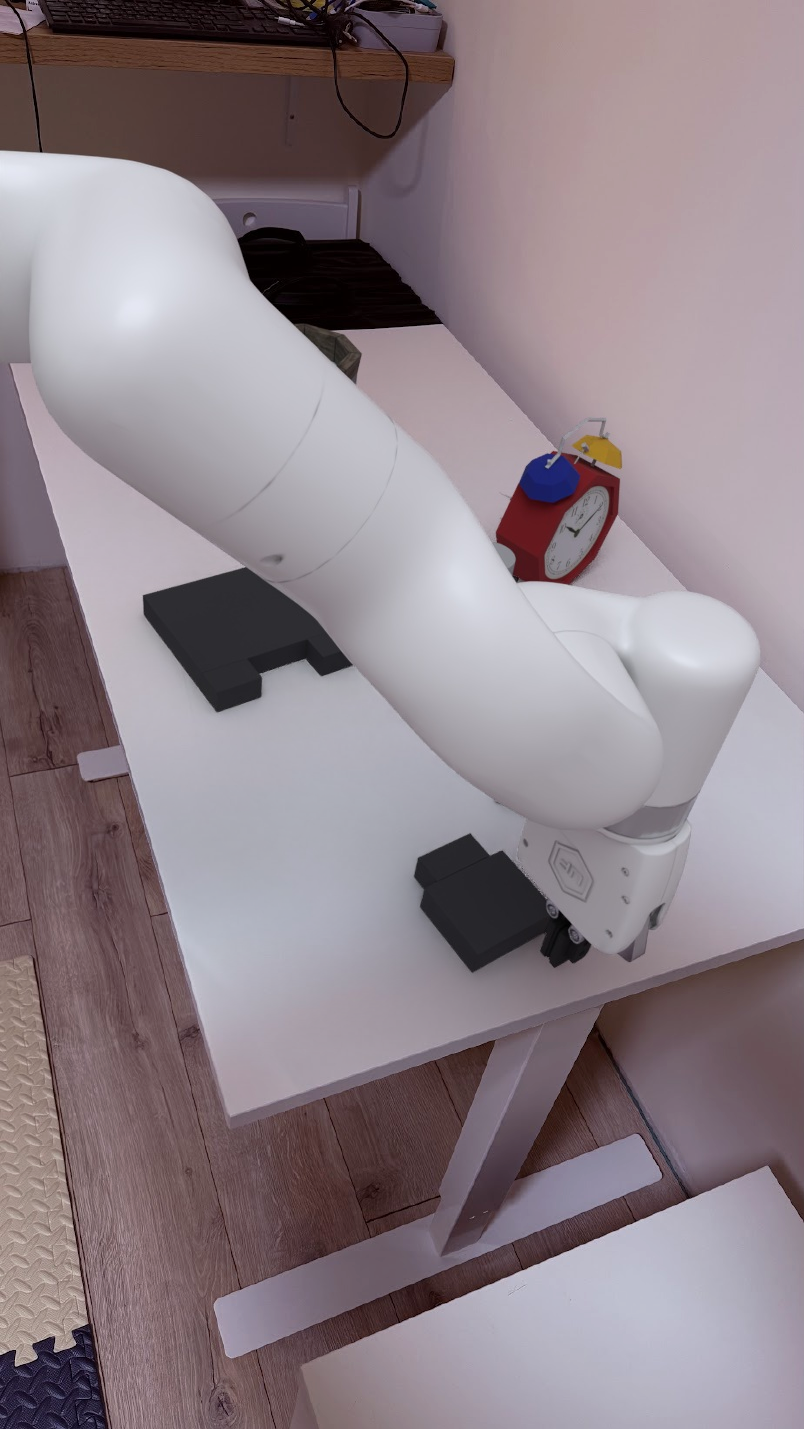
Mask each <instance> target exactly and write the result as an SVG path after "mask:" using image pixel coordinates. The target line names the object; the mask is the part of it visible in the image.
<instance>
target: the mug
mask: <svg viewBox="0 0 804 1429" xmlns="http://www.w3.org/2000/svg"><path fill="white" fill-rule="evenodd" d="M292 324H293V325H294V326H295V327H296V328H297V329H298V330H299V331H300V332H301V333H302V334H304V335H305V336H306V337H307V338H308V339H309V340H310V341H311V342H312V343H313V344H314V345H315V346H316V347H317V348H318V349H319V350H320V351H321V352H322V353H323V354H324V355H325V356H326V357H327V358H328V359H329V360H330V361H331V362H332V363H333V364H334V365H335V366H337V367H338V368H339V369H340V370H341V371H342V372H343V373H344V374H345V375H346V376H347V377H348V378H349V379H350V380H351V381H352V382H353V383H354V384H356V385H357V383H358V382H357V381H358V372H359V368H360V363H361V359H362V356H363V353H362V352H361V351H360V350H359V349H358V348H357V347H356V346H355V344H354V343H353V342H352V341H351V340H350V339H349V338H348V336H346V335H345V334H344V333H340V332H337V331H333V330H329V329H325V328H322V327H318V326H315V325H311V324H308V323H292Z"/></svg>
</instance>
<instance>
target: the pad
mask: <svg viewBox="0 0 804 1429" xmlns="http://www.w3.org/2000/svg"><path fill="white" fill-rule="evenodd" d="M413 878H414V879H415V880H416V881H417V883H418V884H419V885H420V887H421V888H422V890H423V892H422V896H421V901H420V905H419V908H420V909H421V910H422V911H423V913H424V914H425V915H426V917H427V918H428V919H429V920H430V922H431V923H432V924H433V926H434V927H435V928H436V929H437V931H438V932H439V933H440V935H441V936H442V937H443V938H444V939H445V940H446V942H447V943H448V944H449V946H450V947H451V948H452V950H453V951H454V952H455V953H456V954H457V956H458V957H459V958H460V959H461V961H462V962H463V963H464V964H465V966H466V967H467V968H468V970H469V971H470V972H471V973H475V972H476V971H478V970H480V969H482V968H484V967H485V966H487V965H489V964H491V963H492V962H494V961H496V960H498V959H499V958H501V957H503V956H505V955H507V954H508V953H510V952H512V951H514V950H515V949H518V948H520V947H521V946H523V945H525V944H526V943H528V942H530V941H532V940H534V939H535V938H537V937H539V936H541V935H543V934H545V929H546V926H547V924H548V921H549V918H550V915H549V914H548V912H547V909H546V903H547V898H546V897H545V895H543V894H542V892H541V891H540V890H539V889H538V888H537V887H536V886H535V884H533V882H532V881H531V880H530V879H529V878H528V876H527V875H525V873H524V872H523V871H522V870H521V868H519V866H517V864H516V863H515V862H514V861H513V860H512V858H510V856H509V855H508V854H507V853H506V852H505V851H504V850H503V849H501V850H499V851H496V852H494V853H493V854H490V853H489V852H488V851H487V850H486V849H485V848H484V847H483V846H482V845H481V843H480V842H479V841H478V840H477V839H476V837H475V836H474V835H473V834H472V833H471V832H469V833H467V834H465V835H463V836H461V837H459V838H457V839H456V838H455V839H454V840H453V841H450V842H448V843H445V844H444V845H442V846H440V847H437V848H435V849H434V850H431V851H428V852H426V853H424V854H423V855H421V856H418V857H417V858H416V864H415V869H414V873H413Z"/></svg>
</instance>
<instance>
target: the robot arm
mask: <svg viewBox="0 0 804 1429" xmlns="http://www.w3.org/2000/svg"><path fill="white" fill-rule="evenodd" d="M248 272H249V271H248V269H247V266H246V263H245V260H244V257H243V253H242V250H241V247H240V244H239V242H238V239H237V236H236V234H235V232H234V230H233V228H232V226H231V224H230V223H229V220H228V218H227V217H226V215H225V214H224V213H223V211H222V210H221V209H220V208H219V207H218V205H217V204H216V203H215V201H214V200H213V199H212V198H211V197H210V196H209V195H207V194H206V193H205V192H204V191H202V190H201V189H200V188H199V187H198V186H196V184H194V183H193V182H191V181H190V180H188V179H186V178H185V177H182V176H180V175H179V174H176V173H174V172H172V171H170V170H168V169H165V168H161V167H158V166H154V165H150V164H147V163H144V162H139V161H134V160H131V159H130V160H129V159H122V158H115V157H114V158H113V157H105V156H91V155H82V154H81V155H80V154H69V153H68V154H67V153H50V152H33V151H17V150H16V151H15V150H0V364H30V366H31V372H32V375H33V379H34V383H35V386H36V388H37V391H38V393H39V396H40V398H41V400H42V402H43V404H44V406H45V408H46V410H47V413H48V414H49V416H50V417H51V419H53V421H54V422H55V423H56V425H57V427H58V428H59V429H60V431H61V432H62V433H63V434H64V435H65V436H66V437H67V438H68V439H69V440H70V441H71V442H72V443H73V444H74V445H75V446H77V448H79V449H80V451H82V452H83V453H84V454H85V455H87V456H88V457H89V458H90V459H92V460H93V461H94V462H95V463H97V464H98V465H100V467H103V468H104V469H106V470H107V471H108V472H109V473H111V474H112V475H113V476H115V477H116V478H117V479H119V480H121V481H122V482H123V483H125V484H127V485H128V486H129V487H131V488H132V489H134V490H135V491H137V492H138V493H139V494H141V495H142V496H144V498H146V499H147V500H149V501H151V502H152V503H154V504H155V505H156V506H158V507H159V508H160V509H162V510H163V511H165V512H166V513H167V514H169V515H171V516H172V517H173V518H174V519H176V520H177V521H179V522H180V523H182V524H183V525H185V526H186V527H189V528H190V529H191V530H192V531H193V532H195V533H197V534H198V535H199V536H201V537H203V538H204V539H205V540H207V541H208V542H209V543H211V544H212V545H214V546H215V547H217V549H219V550H220V551H222V552H224V553H225V554H226V555H228V556H229V557H231V558H232V559H234V560H235V561H237V562H238V563H239V564H241V565H242V566H243V567H247V568H248V569H249V570H251V571H252V572H254V573H255V574H257V575H258V576H259V577H260V578H262V579H263V580H265V581H266V582H268V583H269V584H270V585H272V586H273V587H275V588H276V589H278V590H279V591H281V592H282V593H283V594H285V595H286V596H287V597H289V598H290V599H292V600H293V601H294V602H296V603H297V604H299V605H300V606H301V607H302V608H303V609H305V610H306V611H307V612H308V613H309V614H311V615H312V616H313V617H314V618H315V619H316V620H317V621H318V622H319V623H320V625H321V626H322V627H323V628H324V630H325V631H326V632H327V634H328V635H329V636H330V637H331V639H332V640H333V641H334V642H335V644H336V645H337V646H338V648H339V649H340V650H341V651H342V652H343V654H344V655H345V656H346V657H347V659H348V660H349V661H350V662H351V663H352V664H353V665H352V666H354V668H355V669H356V670H357V671H358V673H360V674H361V675H362V676H363V677H364V679H366V680H367V682H368V683H369V684H370V685H371V686H372V687H373V688H374V690H376V691H377V692H378V693H379V695H380V696H381V697H382V698H383V699H384V700H385V701H386V702H387V703H388V704H389V706H390V707H391V708H392V709H393V710H394V711H395V713H397V715H398V716H399V717H400V718H401V719H402V720H403V721H404V722H405V723H406V725H408V727H409V728H410V729H411V730H412V731H413V732H414V733H415V734H416V735H417V737H418V738H419V739H420V740H421V741H422V742H423V743H424V744H425V745H426V746H427V747H428V748H429V749H430V751H431V752H433V753H434V754H435V756H437V757H438V758H439V759H441V761H442V762H443V763H444V764H445V765H446V766H447V767H449V768H450V769H451V770H452V771H454V773H456V774H457V775H458V776H459V777H461V778H462V779H463V780H464V781H466V782H467V783H469V785H471V786H472V787H474V788H476V789H477V790H479V791H480V792H482V793H483V794H485V795H486V796H487V797H490V798H491V799H492V800H494V801H496V802H497V803H498V804H501V805H502V806H504V807H505V808H507V809H509V810H510V811H512V812H513V813H515V814H517V815H518V816H521V817H523V818H525V819H526V820H525V823H524V825H523V828H522V832H521V833H520V836H519V839H518V842H517V843H518V844H517V858H518V860H519V862H520V864H521V866H522V868H523V869H524V871H525V872H526V873H527V875H528V876H529V877H530V878H531V880H532V881H533V882H534V883H535V884H536V886H537V887H538V888H539V889H540V890H541V891H542V892H543V893H544V894H545V896H546V897H547V898H546V899H547V903H546V909H547V912H548V914H549V915H550V918H549V921H548V924H547V926H546V929H545V932H544V934H545V935H544V938H543V940H542V943H541V945H540V949H539V953H540V954H541V955H542V956H543V957H544V958H548V960H549V961H548V963H549V964H550V965H551V967H552V968H553V969H556V968H559V967H560V966H562V965H563V964H565V963H567V962H570V963H571V964H572V965H573V964H576V963H577V962H579V961H581V960H582V959H583V958H585V957H586V956H587V955H588V953H589V951H590V950H591V947H592V946H593V947H594V948H595V949H596V950H598V951H599V952H601V953H603V954H606V955H608V956H614V955H616V954H617V955H618V956H619V957H620V958H622V959H623V960H624V961H626V962H628V963H632V962H634V961H635V960H636V959H638V958H640V957H641V956H643V955H645V954H646V950H647V949H646V948H647V942H648V937H649V936H648V935H649V931H656V930H657V929H658V928H659V927H660V926H661V924H662V923H663V921H664V920H665V918H666V916H667V913H668V911H669V909H670V907H671V905H672V902H673V900H674V898H675V895H676V893H677V890H678V887H679V885H680V882H681V878H682V876H683V872H684V869H685V866H686V863H687V858H688V853H689V849H690V844H691V836H692V830H693V828H692V827H693V826H692V824H691V823H690V821H689V819H688V818H689V815H690V813H691V811H692V809H693V807H694V805H695V803H696V801H697V798H698V796H700V795H699V794H700V793H701V791H702V789H703V786H704V785H705V782H706V780H707V778H708V776H709V774H710V771H711V770H712V768H713V766H714V764H715V763H716V760H717V758H718V755H719V754H720V751H721V750H722V748H723V746H724V743H725V741H726V739H727V738H728V735H729V733H730V731H731V729H732V727H733V725H734V722H735V721H736V719H737V716H738V715H739V713H740V711H741V708H742V706H743V704H744V703H745V700H746V698H747V696H748V694H749V692H750V690H751V688H752V685H753V684H754V681H755V679H756V676H757V674H758V672H759V668H760V665H761V658H762V657H761V656H762V654H761V653H762V652H761V651H762V649H761V644H760V641H759V637H758V634H757V633H756V631H755V629H754V628H753V626H752V625H751V623H750V622H749V621H748V620H747V619H746V618H745V617H744V616H743V615H741V613H739V611H737V610H736V609H734V608H733V607H732V606H730V605H729V604H727V603H725V602H723V601H721V600H719V599H717V598H714V597H712V596H709V595H706V594H704V593H700V592H695V591H688V590H677V589H675V590H663V591H658V592H654V593H651V594H649V595H645V596H637V595H629V594H623V593H615V592H610V591H605V590H597V589H593V588H588V587H582V586H577V585H571V584H569V585H566V584H560V583H553V582H539V581H529V582H520V583H517V581H516V579H515V578H514V577H513V574H512V575H511V574H510V572H509V571H508V569H507V567H506V566H505V564H504V562H503V561H502V559H501V557H500V556H499V554H498V552H497V551H496V549H495V547H494V545H493V544H492V542H493V541H492V540H491V538H490V537H489V535H488V533H487V531H486V530H485V528H484V526H483V525H482V523H481V521H480V519H479V518H478V516H477V515H476V514H475V512H474V510H473V508H472V507H471V506H470V504H469V502H468V501H467V500H466V498H465V497H464V496H463V494H462V492H461V491H460V490H459V489H458V488H457V486H456V484H455V483H454V481H453V480H452V479H451V478H450V476H449V475H448V474H447V472H446V471H445V470H444V469H443V467H442V466H441V464H439V462H438V461H437V460H436V459H435V458H434V457H433V455H431V454H430V453H429V452H428V451H427V449H425V448H424V446H422V445H421V444H420V443H419V442H418V441H417V440H415V439H414V438H413V437H412V436H411V435H410V434H409V433H407V432H406V430H404V429H403V428H402V427H401V426H400V425H399V424H398V423H397V422H396V421H394V419H393V417H390V415H388V414H387V413H386V412H385V411H384V410H383V409H382V408H381V407H380V406H379V405H378V404H377V403H376V402H375V401H374V400H373V399H372V398H370V396H369V395H367V394H366V392H364V391H363V390H362V389H361V388H360V387H359V386H358V385H357V383H356V384H354V383H353V382H352V381H351V380H350V379H349V378H348V377H347V376H346V375H345V374H344V373H343V372H342V371H341V370H340V369H339V368H338V367H337V366H335V365H334V364H333V363H332V362H331V361H330V360H329V359H328V358H327V357H326V356H325V355H324V354H323V353H322V352H321V351H320V350H319V349H318V348H317V347H316V346H315V345H314V344H313V343H312V342H311V341H310V340H309V339H308V338H307V337H306V336H305V335H304V334H302V333H301V332H300V331H299V330H298V329H297V328H296V327H295V326H294V325H293V324H294V323H292V322H291V321H290V320H289V319H288V318H287V317H286V316H285V315H284V314H283V313H282V312H281V311H279V309H277V307H275V306H274V305H273V303H271V302H270V301H269V300H268V299H267V298H266V296H264V295H263V293H262V292H260V290H259V289H258V288H257V287H256V285H254V283H253V282H252V280H251V279H250V276H249V273H248Z"/></svg>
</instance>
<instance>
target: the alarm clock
mask: <svg viewBox="0 0 804 1429" xmlns="http://www.w3.org/2000/svg"><path fill="white" fill-rule="evenodd" d="M588 422H590V423H591V422H597V423H598V422H599V423H601V425H600V429H599V433H598V435H599V436H597V435H591V434H585V435H584V436H583V437H580V438H579V439H578V440H577V441H576V442H574V443H572V444H571V445H570V447H572V448H574V449H576V450H577V451H578V452H580V453H579V455H578V454H573V453H566V452H562V451H563V447H564V445H565V441H566V439H568V438H569V437H570V436H571V435H573V434H574V433H575V432H576V431H578V430H579V429H580V428H581V427H582V426H584V425H585V424H587V423H588ZM606 423H607V417H586V418H584V419H583V420H582V421H581V422H579V423H578V424H576V426H574V427H573V428H572V429H571V430H569V431H568V432H567V433H566V434H564V435H563V436H562V437H561V439H560V442H559V446H558V449H557V450H552V451H551V452H549V453H548V452H547V453H545V454H542V455H540V456H537V457H536V458H533V459H531V461H529V462H528V463H527V465H525V466H524V469H523V472H522V474H521V477H520V480H519V481H518V483H517V485H516V488H515V490H514V491H513V494H512V496H509V495H507V494H504V493H502V492H500V494H501V495H502V496H504V497H506V498H508V499H509V502H508V504H507V507H506V509H505V511H504V513H503V516H502V517H500V518H499V520H500V521H499V524H498V526H497V529H496V530H495V540H496V541H495V542H496V543H499V544H502V545H504V546H506V547H507V548H509V549H510V550H511V551H512V552H513V553H514V555H515V558H516V560H515V565H514V570H513V574H512V575H514V576H515V577H517V578H518V580H517V581H516V583H520V582H529V581H539V582H553V583H560V584H566V585H571V583H572V582H574V580H575V579H576V578H577V577H578V576H579V575H581V573H582V572H584V570H585V569H587V567H588V566H590V564H591V563H592V562H594V560H595V559H596V558H597V556H598V554H599V552H600V550H601V548H602V546H603V544H604V542H605V541H606V539H607V537H608V534H609V533H610V530H611V528H612V527H613V525H614V523H615V521H616V519H617V517H618V515H619V504H620V490H621V489H620V488H621V478H619V476H615V475H614V474H612V473H611V472H609V471H607V470H606V469H603V468H601V467H599V466H598V465H596V463H597V461H598V462H599V463H602V464H604V465H607V466H609V467H612V468H615V469H618V470H622V468H623V458H622V450H620V448H618V447H617V445H615V444H614V443H613V442H611V441H610V439H609V437H610V435H611V433H610V432H609V431H606V433H605V434H604V431H605V427H606ZM582 455H585V456H587V457H589V458H591V459H592V461H591V462H590V461H588V460H586V459H585V458H583V457H581V456H582Z"/></svg>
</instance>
